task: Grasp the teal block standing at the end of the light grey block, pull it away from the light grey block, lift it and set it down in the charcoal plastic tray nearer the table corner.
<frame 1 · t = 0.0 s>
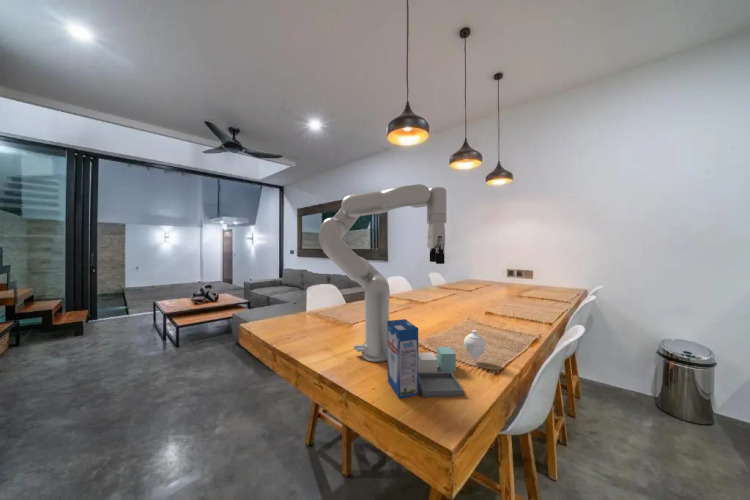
hand: (436, 262, 107), 37 cm above the table, tool pointing down, fingers open, 9 cm apart
teal block: (446, 368, 97), on the table
light grey block: (423, 368, 96), on the table
spinning top: (474, 362, 101), on the table
stub tray: (438, 386, 84), on the table
milk carton: (402, 389, 84), on the table
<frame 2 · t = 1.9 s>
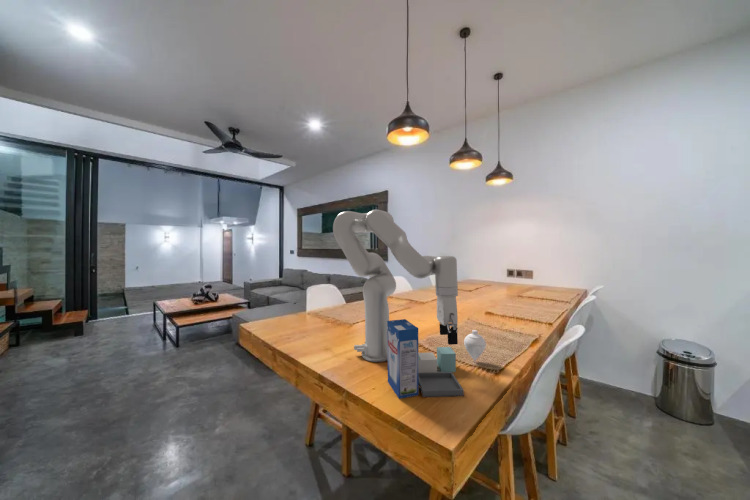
hand: (448, 339, 96), 11 cm above the table, tool pointing down, fingers open, 9 cm apart
nothing on the table moved.
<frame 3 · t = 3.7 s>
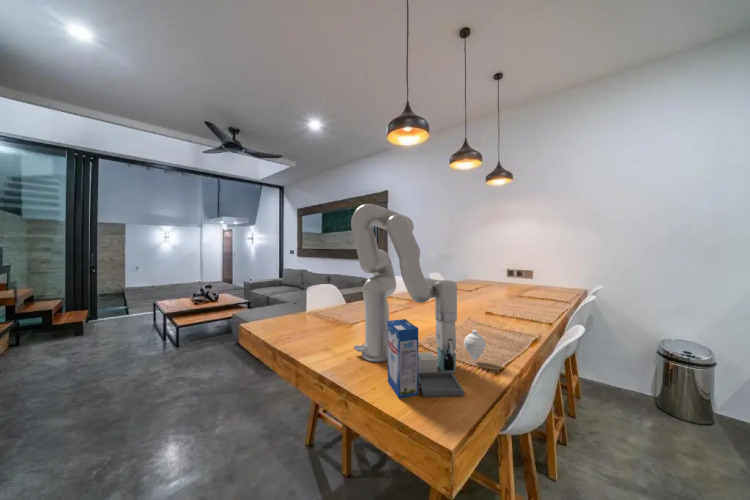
hand: (446, 365, 97), 1 cm above the table, tool pointing down, fingers closed on teal block, 6 cm apart
teal block: (446, 368, 97), on the table, touching gripper
everything else where it was.
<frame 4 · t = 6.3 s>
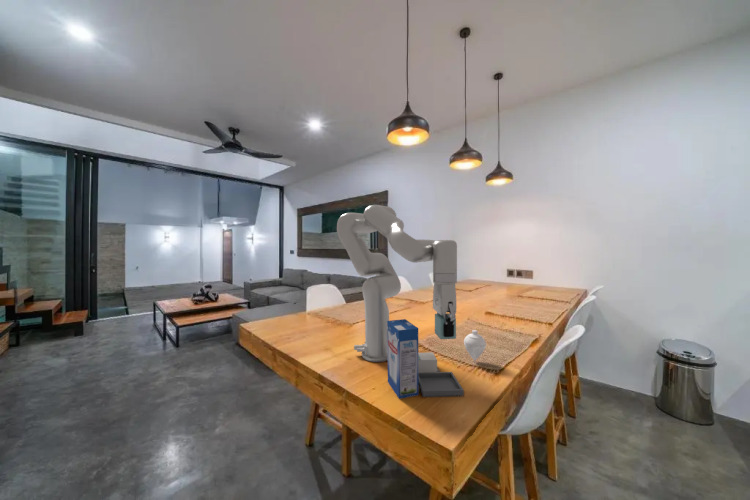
hand: (444, 332, 88), 16 cm above the table, tool pointing down, fingers closed on teal block, 6 cm apart
teal block: (445, 335, 88), point 14 cm above the table, touching gripper
everything else where it was.
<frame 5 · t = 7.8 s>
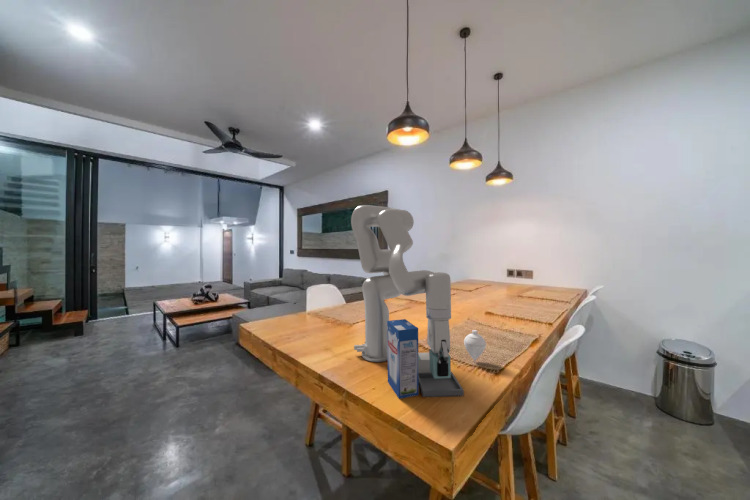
hand: (439, 370, 84), 5 cm above the table, tool pointing down, fingers closed on teal block, 6 cm apart
teal block: (439, 373, 84), point 4 cm above the table, touching gripper
everything else where it was.
when the fingers open (3 cm above the table, at t = 8.9 s): teal block drops 1 cm, resting on stub tray.
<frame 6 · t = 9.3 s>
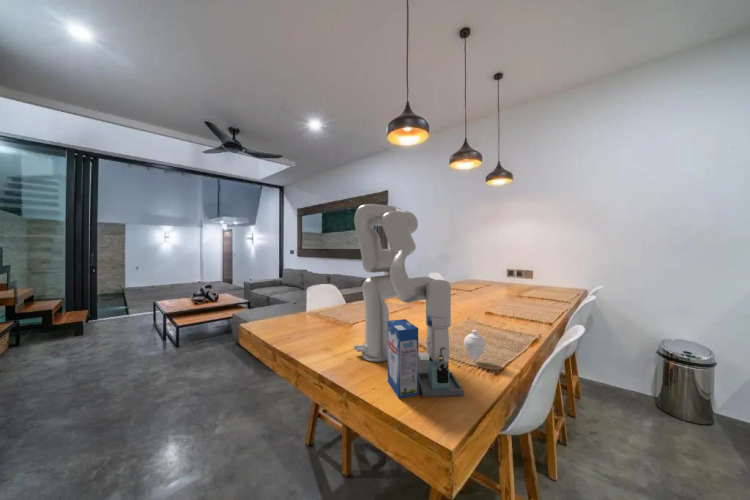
hand: (438, 374, 84), 4 cm above the table, tool pointing down, fingers open, 9 cm apart
teal block: (438, 385, 84), resting on stub tray
everything else where it was.
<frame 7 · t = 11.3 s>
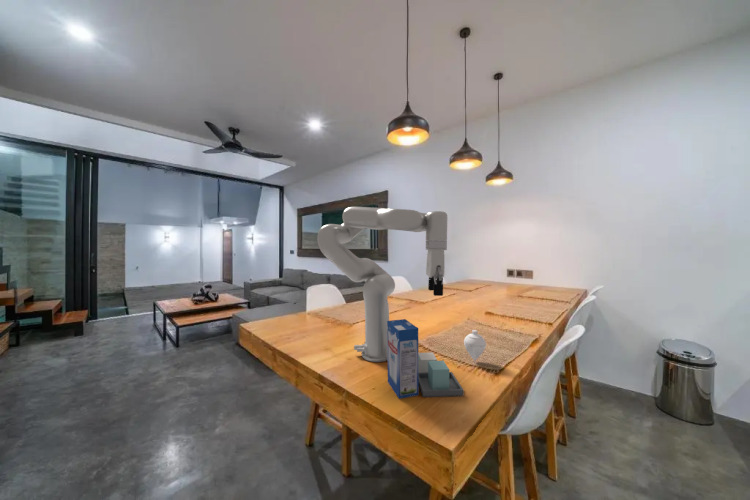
hand: (435, 292, 99), 27 cm above the table, tool pointing down, fingers open, 9 cm apart
nothing on the table moved.
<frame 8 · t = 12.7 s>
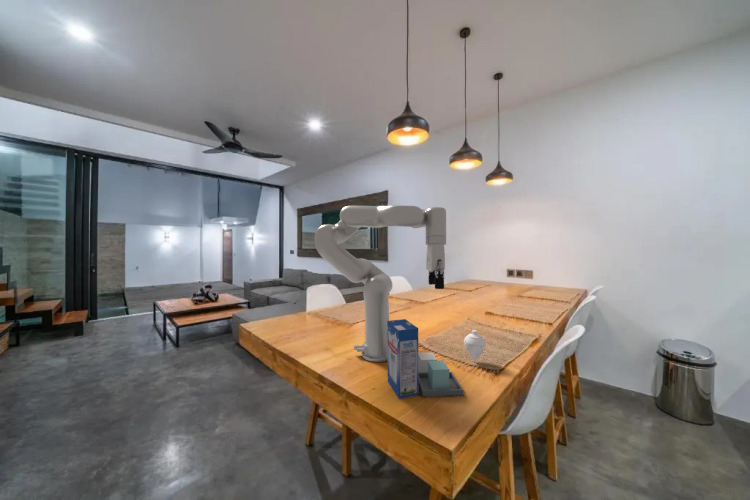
hand: (435, 286, 102), 28 cm above the table, tool pointing down, fingers open, 9 cm apart
nothing on the table moved.
at the end: teal block inside the target area on the stub tray (0.1 cm from its centre), point 0.4 cm above the stub tray's base; teal block touching stub tray; the gripper is holding nothing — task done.
